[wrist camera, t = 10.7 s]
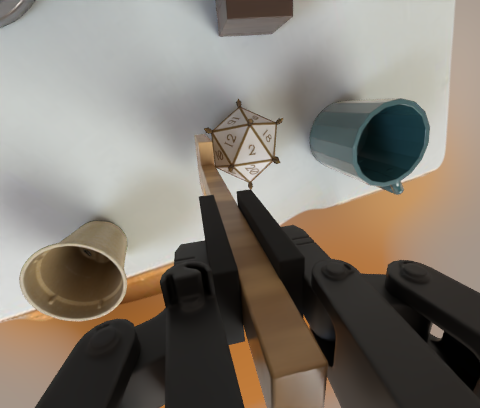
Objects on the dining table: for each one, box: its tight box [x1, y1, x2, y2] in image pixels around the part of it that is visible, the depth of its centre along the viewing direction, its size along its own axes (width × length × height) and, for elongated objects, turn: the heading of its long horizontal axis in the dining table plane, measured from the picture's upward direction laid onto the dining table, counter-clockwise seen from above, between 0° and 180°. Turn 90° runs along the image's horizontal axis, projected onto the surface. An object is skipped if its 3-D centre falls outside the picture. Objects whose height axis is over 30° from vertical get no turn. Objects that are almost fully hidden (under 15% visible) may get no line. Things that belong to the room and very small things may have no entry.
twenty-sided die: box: [204, 99, 283, 190], centre depth 28 cm, size 9×8×10 cm
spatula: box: [194, 134, 328, 408], centre depth 17 cm, size 6×1×26 cm, turn 4°
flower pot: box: [19, 221, 127, 321], centre depth 29 cm, size 9×9×9 cm
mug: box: [310, 98, 430, 195], centre depth 30 cm, size 12×9×10 cm
